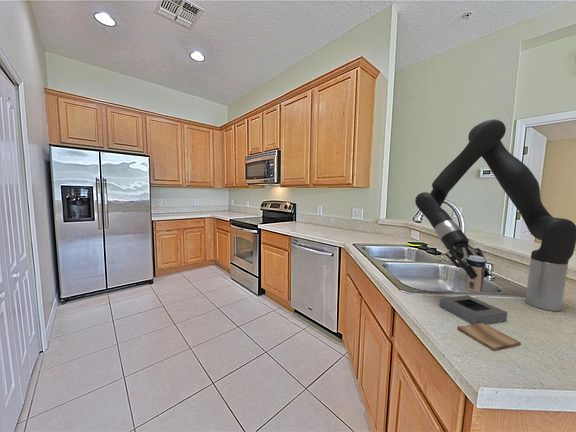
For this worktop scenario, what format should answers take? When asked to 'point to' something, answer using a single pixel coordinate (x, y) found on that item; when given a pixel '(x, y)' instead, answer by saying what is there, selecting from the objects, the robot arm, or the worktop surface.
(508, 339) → the walnut coaster
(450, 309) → the metal collar
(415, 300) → the worktop surface
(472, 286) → the beer can
